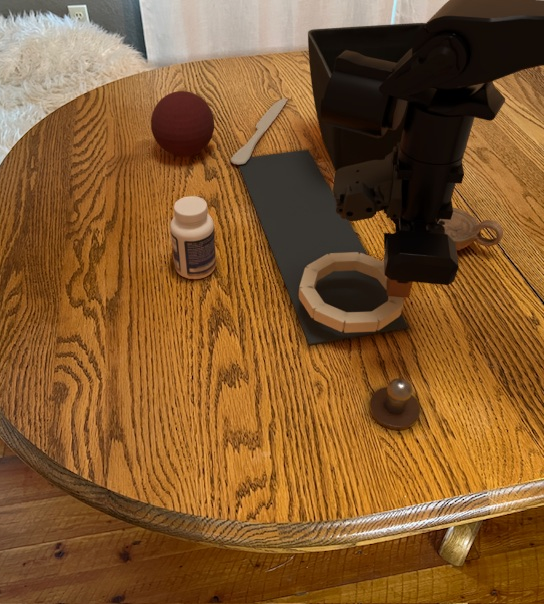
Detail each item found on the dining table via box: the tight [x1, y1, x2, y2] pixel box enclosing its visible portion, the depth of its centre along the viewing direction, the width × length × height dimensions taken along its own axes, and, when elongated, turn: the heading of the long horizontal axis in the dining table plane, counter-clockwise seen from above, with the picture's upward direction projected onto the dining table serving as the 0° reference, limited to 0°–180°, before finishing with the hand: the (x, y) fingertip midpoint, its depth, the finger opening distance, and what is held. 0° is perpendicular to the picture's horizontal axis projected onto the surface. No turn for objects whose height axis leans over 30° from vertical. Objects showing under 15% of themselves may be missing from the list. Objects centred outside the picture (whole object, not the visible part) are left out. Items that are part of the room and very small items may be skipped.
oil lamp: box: [438, 207, 504, 251], centre depth 79 cm, size 13×8×5 cm, turn 55°
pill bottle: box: [169, 195, 217, 280], centre depth 75 cm, size 5×5×10 cm
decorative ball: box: [150, 90, 215, 158], centre depth 95 cm, size 10×10×10 cm
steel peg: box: [368, 377, 421, 431], centre depth 60 cm, size 5×5×4 cm
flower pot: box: [307, 22, 427, 173], centre depth 90 cm, size 19×19×17 cm
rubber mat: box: [237, 149, 410, 346], centre depth 83 cm, size 40×12×1 cm, turn 11°
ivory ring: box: [299, 252, 414, 333], centre depth 67 cm, size 12×12×7 cm
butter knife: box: [230, 98, 289, 166], centre depth 102 cm, size 1×24×3 cm
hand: (401, 273), depth 66 cm, fingers closed on ivory ring, 2 cm apart
